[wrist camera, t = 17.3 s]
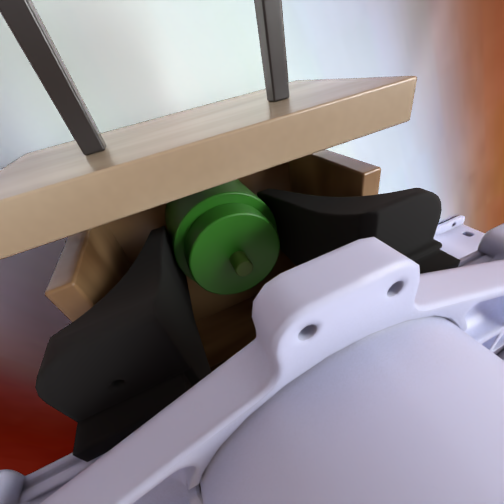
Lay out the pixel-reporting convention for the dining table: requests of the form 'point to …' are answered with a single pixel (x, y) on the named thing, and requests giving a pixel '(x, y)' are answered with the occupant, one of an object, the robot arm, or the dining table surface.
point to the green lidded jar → (223, 238)
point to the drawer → (182, 169)
